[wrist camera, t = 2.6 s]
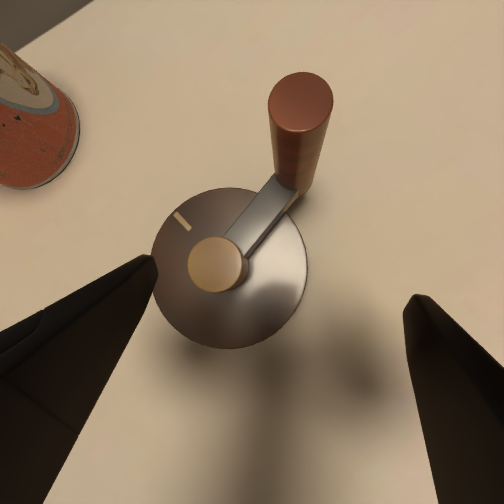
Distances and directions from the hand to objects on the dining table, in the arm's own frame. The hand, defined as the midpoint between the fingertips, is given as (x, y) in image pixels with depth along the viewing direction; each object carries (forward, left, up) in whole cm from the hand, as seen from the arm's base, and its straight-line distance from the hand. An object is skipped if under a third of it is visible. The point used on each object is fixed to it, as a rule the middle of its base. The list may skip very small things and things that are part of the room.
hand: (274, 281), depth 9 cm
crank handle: (+1, +4, -9) cm, 10 cm away
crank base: (-3, +3, -13) cm, 14 cm away
